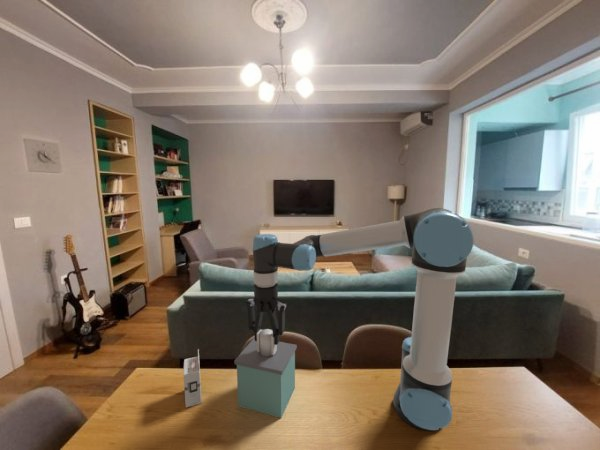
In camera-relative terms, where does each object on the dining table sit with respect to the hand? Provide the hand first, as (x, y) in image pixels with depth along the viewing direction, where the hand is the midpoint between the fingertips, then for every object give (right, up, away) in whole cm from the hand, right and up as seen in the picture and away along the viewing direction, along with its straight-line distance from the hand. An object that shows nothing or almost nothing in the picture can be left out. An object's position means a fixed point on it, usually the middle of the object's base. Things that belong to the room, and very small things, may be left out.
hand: (267, 351), depth 88 cm
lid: (0, -3, 0) cm, 3 cm away
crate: (0, -17, +2) cm, 17 cm away
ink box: (-25, -17, +2) cm, 30 cm away
